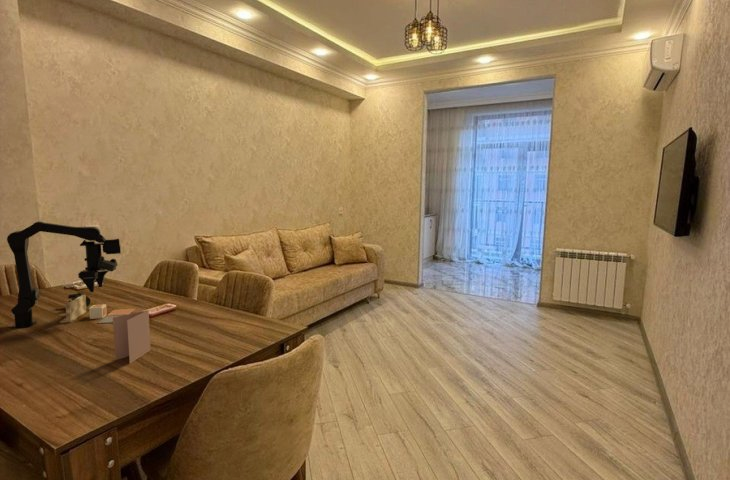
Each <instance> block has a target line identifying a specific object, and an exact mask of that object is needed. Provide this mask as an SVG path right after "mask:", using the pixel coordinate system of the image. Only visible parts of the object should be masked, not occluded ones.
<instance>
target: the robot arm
mask: <svg viewBox="0 0 730 480" xmlns="http://www.w3.org/2000/svg"><path fill="white" fill-rule="evenodd" d="M39 232H43V233H51V234H59V235H64V236H65V235H67V236H74V237H77V238H80V239H83V241H82V242H81V243H79V247H85V258H84V262H86V267H84V268H85V269H83V270H81V271H80V272H78V274H77V276H78V279H79V280H81V281H82V282H83V283H84V284H85V286H86V287H87V288H88V291H89V292H90V293H94V292H95V283H97V286H98V287H99V288H102V287H103V284H104V280H105V276H106V275H107V274H108V273H109V272H115V270H116V269H117V267H118V262H117V260H116V259H117V258H116V259H115V258H112V259H110V260H108V259H107V260H106V259H105V256H103V254H102V252H103V253H104V254H105V255H117V254H118V255H119V254H122V253H121V243H120V238H114V239H113V238H112V239H111V238H110V239H106V238H105V237H104V236H103V235H102V234H101V229H99V228H98V227H96V226H72V225H62V224H58V223H49V222H43V221H40V220H39V221H36V222H34V223H32V225H30V226H28V227H26V228H23V229H22V230H16V231H14V232H13V231H12V232H11V233H9V234H8V235H7V237H6V242H7V244H8V246H9V249H10V251H11V252H12V253H13V255H14V256H13V257H14V260H15V262H14V263H15V268H16V274H17V281H18V286H19V287H18V288H19V289H18V294H17V304H15V305H14V306H13V307H12V309H10V312H11V313H12V314H13V315H14V324H13V325H12V326H10V328H11V329H17V328H30V327H31V326H33V325H35V324H37V323H38V321H37V320H34V318H33V317H34V316H33V309H32V308H33V307H34V306H35V305H36V304H37V303H38V301H39V299H40V298H41V295H40V293H39V291H40V290H39V287H36V288H35V286H34V285H33V282H32V275H31V274H32V273H31V269H30V262H29V256H28V255H29V254H28V249H29V242H30V238H31V237H33V236H34V235H36V234H38V233H39Z"/></svg>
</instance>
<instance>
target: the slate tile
mask: <svg viewBox="0 0 730 480" xmlns="http://www.w3.org/2000/svg"><path fill="white" fill-rule="evenodd" d="M120 316H123V315H120ZM113 317H118V316H107V315H106V316H105V317H103V318H101V319H100V320H99V321H98V322H97V324H99V325H100V324H113Z"/></svg>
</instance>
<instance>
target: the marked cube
mask: <svg viewBox="0 0 730 480" xmlns="http://www.w3.org/2000/svg"><path fill="white" fill-rule="evenodd" d="M107 311H108V309H107V304H103V303H102V304H93V305H92V306H90V307H89V308H88V312H89V319H90V320H91V319H92V320H93V319H103V318H104V317H106V316H107V315H108V314H107V313H108V312H107Z"/></svg>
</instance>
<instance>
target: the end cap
mask: <svg viewBox="0 0 730 480" xmlns="http://www.w3.org/2000/svg"><path fill="white" fill-rule="evenodd" d="M81 295H86V294H85V293H84V292H82V291H78V292H77V293H74V294H68V295H67V297H68V299H71V300H68V303H69V302H71V301H73V300H74V299H76V298H78V297H79V296H81ZM90 304H91V298H90V297H89V296H87V295H86V308H88V307H89V306H90Z"/></svg>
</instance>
